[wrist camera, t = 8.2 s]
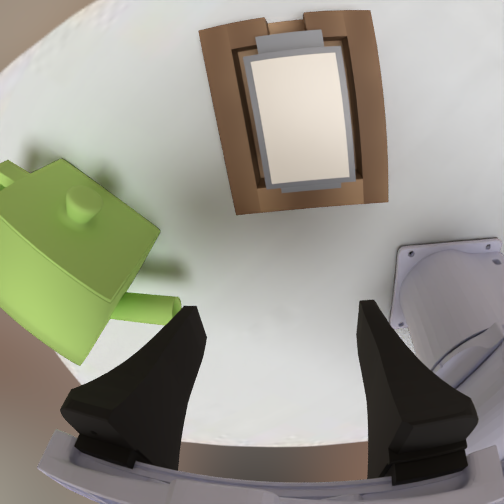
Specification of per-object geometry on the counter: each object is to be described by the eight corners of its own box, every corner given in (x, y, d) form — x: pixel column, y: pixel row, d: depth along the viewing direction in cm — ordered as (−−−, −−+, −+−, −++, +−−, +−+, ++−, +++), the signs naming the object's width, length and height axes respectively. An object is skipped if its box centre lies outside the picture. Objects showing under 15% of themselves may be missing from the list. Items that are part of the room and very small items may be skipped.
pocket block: (360, 18, 14) (370, 10, 11) (378, 186, 19) (388, 202, 17) (210, 36, 15) (198, 30, 13) (243, 198, 21) (236, 215, 19)
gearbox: (224, 248, 24) (196, 338, 16) (165, 319, 28) (131, 401, 20) (47, 121, 19) (-42, 155, 11) (19, 211, 24) (-47, 263, 16)
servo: (324, 36, 14) (336, 18, 9) (341, 171, 18) (357, 208, 14) (254, 44, 15) (236, 30, 10) (277, 177, 19) (270, 215, 14)
